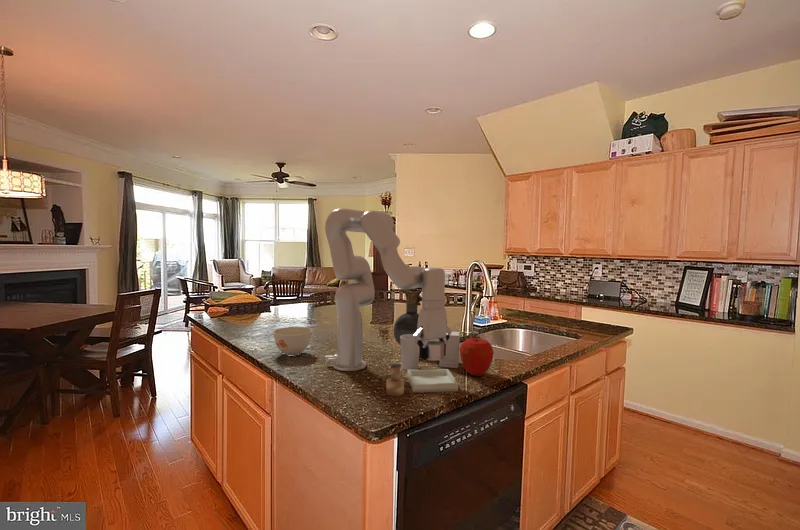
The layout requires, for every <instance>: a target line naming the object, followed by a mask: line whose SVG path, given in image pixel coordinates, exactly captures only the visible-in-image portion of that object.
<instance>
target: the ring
mask: <svg viewBox="0 0 800 530" xmlns="http://www.w3.org/2000/svg"><path fill="white" fill-rule="evenodd" d="M426 348H427V360H426V361H432V362H433V361H440V360H441V359H443V358H444V343H443V342H442V341H439V340H438V339H432V340H428V343H427V345H426ZM419 350H420V347H419Z"/></svg>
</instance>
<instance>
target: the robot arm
mask: <svg viewBox="0 0 800 530" xmlns="http://www.w3.org/2000/svg"><path fill="white" fill-rule="evenodd" d="M393 229H394V219H393V217H392V216H391V215H390V214H389V213H388V212H384V211H379V210H368V211H367V210H366V211H365V210H359V209H358V210H356V209H353V208H352V209H351V208H345V207H343V208H341V207H340V208H337V209H336V208H335V209H334V210H332V211H331V212H330V213H329V214H328V216H327V217H326V219H325V224H324V230H325V231H324V232H325V235H326V239H327V244H328V246H329V250H330V257H331V263H332V269H333V273H334V276H335V278H336V279H337V280H339V281H343V282H345V281H347V282H348V281H351V283H346V284H343V285H340V287H338V288H337V290H336V292H335V294H334V303H335V308H336V314H337V315H336V317H337V318H336V319H337V321H336V323H337V324H336V326H337V327H336V329H337V330H336V336H337V337H336V338H337V339H336V341H337V342H336V343H337V344H336V345H337V346H336V354H333V355H325V356H324V359H325V361H327V363H332V367H333V369H335V370H337V371H341V372H355V371H359V370H363V369H365V368H366V367H367V362H366V361H365V360H363V327H364V325H363V316H362V312H361V309H360V308H363V307H367V306H369V305H371V304H372V302H373V301H374V299H375V296H376V295H375V294H376V292H375V285H374V280H373V275H372V270H371V266H370V263H369V262H368V260H367V259H366V258H365V257H363V256H361V255H355V254H354V250H353V244H352V241H351V239H350V238H349V236H348V235H347V232H352V233H355V232H356V233H364V234H366V236H367V237H368V239H369V240H370V241H371V242H372V244H373V246H374V247H376V249H377V251H378V252H379V254H380V260H381V264H382V267H383V270H384V272H385V273H386V275H387V276H388V277H389V279H390V280H391V281H392V283H393V284H394V286H396V287H397V288H399V290H400V289H403V290H409V289H414V288H416V289H418V288H419V289H421V288H422V289H421V290H422V292H421V297H422V301H421V308H419V313H418V314H419V317H418V326H417V332H416V333H415V334H414V335H413V339H414V340H415V342H416V343H417V344H418V346H419V347H420V352H419V359H421V360H425V361H428V360H427V348H426V345H427V343H428V340H438V341H442V342H443V343H444V356H445V355H446V344H447V341H448V339H449V337H450V335H451V333H452V332H453V330H452V329H451V328H450V327H449V326H448V317H447V315H448V314H447V310H446V308H445V305H446V303H447V301H446V300H445V299H446V296H445V295H446V293H445V292H446V287H445V286H446V272H445V270H444V269H443V268H441V267H423V266H408V265H406V263H405V262H404V261H403V259H402V258H401V256H400V253H398V252H399V251H398V248H399V246H400V244H401V240H400V237H399V236H398V235H397V233H395V231H394V230H393ZM419 338H420V339H419ZM423 341H424V342H423Z"/></svg>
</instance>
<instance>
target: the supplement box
mask: <svg viewBox="0 0 800 530" xmlns="http://www.w3.org/2000/svg"><path fill="white" fill-rule="evenodd" d="M460 337H461V336H460V331H452V333H451V335H450V337H449V339H448V341H447V344H446V355H445V356H444V358H443V359H441V360H439V367H441V368H451V369H452V368H453V369H458V368H459V363H460V361H459V360H460V339H461V338H460Z"/></svg>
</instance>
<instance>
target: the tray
mask: <svg viewBox="0 0 800 530" xmlns="http://www.w3.org/2000/svg"><path fill="white" fill-rule="evenodd" d="M406 371H407V372H406V373H407V375H406V377H407V380H408V382H409V386H410V388H411V391H412V393H446V392H448V393H450V392H459V382H458V381H457V380H456V378H455V377H454V376H453V374H452V373H451V371H450V370H449V369H448V368H439V369H438V368H432V369H429V368H427V369H423V368H422V369H417V370H406Z"/></svg>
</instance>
